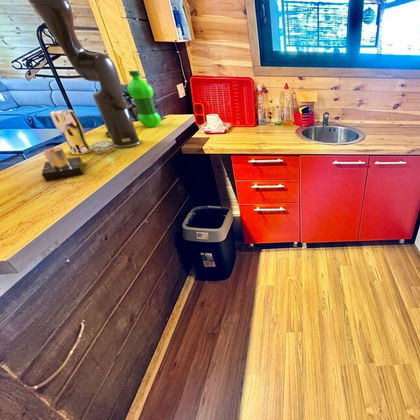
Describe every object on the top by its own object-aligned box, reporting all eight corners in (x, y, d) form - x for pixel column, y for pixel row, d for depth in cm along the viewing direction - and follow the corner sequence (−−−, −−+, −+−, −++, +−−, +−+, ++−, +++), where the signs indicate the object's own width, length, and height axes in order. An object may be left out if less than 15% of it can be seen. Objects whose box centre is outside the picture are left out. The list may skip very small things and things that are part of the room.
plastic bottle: (166, 123, 137) (151, 70, 123) (156, 128, 128) (138, 72, 114) (147, 122, 137) (130, 69, 123) (136, 128, 128) (115, 71, 114)
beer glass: (72, 149, 101) (52, 110, 93) (94, 147, 104) (76, 109, 96) (67, 156, 96) (45, 114, 88) (91, 153, 99) (71, 113, 91)
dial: (53, 165, 83) (43, 148, 80) (70, 162, 86) (61, 145, 82) (52, 170, 80) (41, 152, 77) (70, 166, 83) (60, 149, 79)
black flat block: (49, 169, 86) (44, 161, 85) (83, 163, 91) (79, 156, 90) (45, 181, 79) (41, 173, 78) (83, 174, 84) (79, 167, 82)
